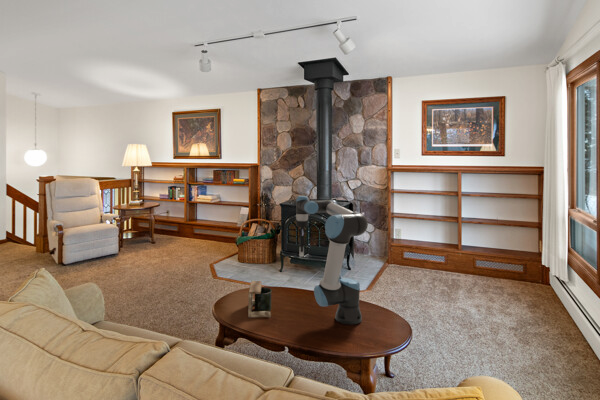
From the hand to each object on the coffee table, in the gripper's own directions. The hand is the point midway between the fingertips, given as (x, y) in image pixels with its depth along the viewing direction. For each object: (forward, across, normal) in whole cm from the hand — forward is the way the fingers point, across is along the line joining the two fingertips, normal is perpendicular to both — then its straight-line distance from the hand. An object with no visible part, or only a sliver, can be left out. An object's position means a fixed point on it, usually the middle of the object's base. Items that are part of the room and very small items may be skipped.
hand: (301, 256), depth 231 cm
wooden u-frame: (+29, +15, -27) cm, 43 cm away
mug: (+30, +15, -25) cm, 41 cm away
